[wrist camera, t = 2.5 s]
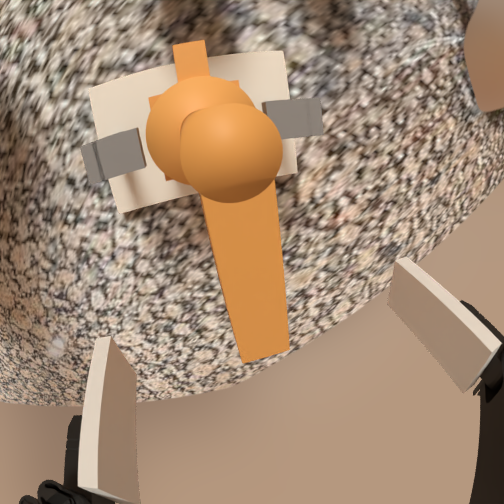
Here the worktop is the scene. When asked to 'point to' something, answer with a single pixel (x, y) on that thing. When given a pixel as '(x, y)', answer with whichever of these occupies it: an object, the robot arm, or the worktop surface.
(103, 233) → the worktop surface
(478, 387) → the robot arm
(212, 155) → the lever handle
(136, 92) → the base
